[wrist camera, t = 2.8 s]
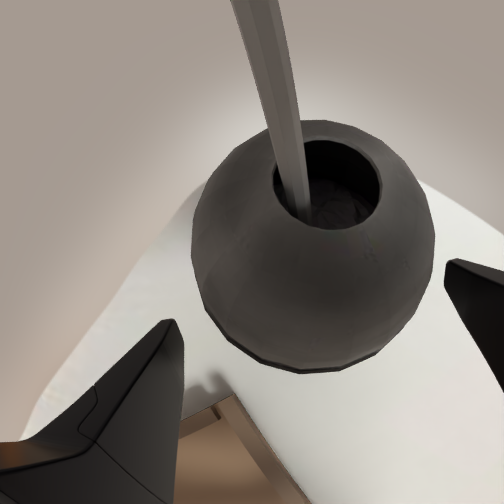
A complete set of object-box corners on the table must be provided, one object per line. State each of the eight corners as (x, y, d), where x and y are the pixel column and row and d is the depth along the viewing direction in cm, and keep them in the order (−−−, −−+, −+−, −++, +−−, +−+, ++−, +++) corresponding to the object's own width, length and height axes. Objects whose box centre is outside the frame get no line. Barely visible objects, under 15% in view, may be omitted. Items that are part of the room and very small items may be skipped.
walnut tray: (326, 522, 14) (329, 532, 13) (185, 570, 13) (180, 579, 12) (234, 393, 19) (230, 395, 17) (100, 455, 17) (89, 459, 16)
